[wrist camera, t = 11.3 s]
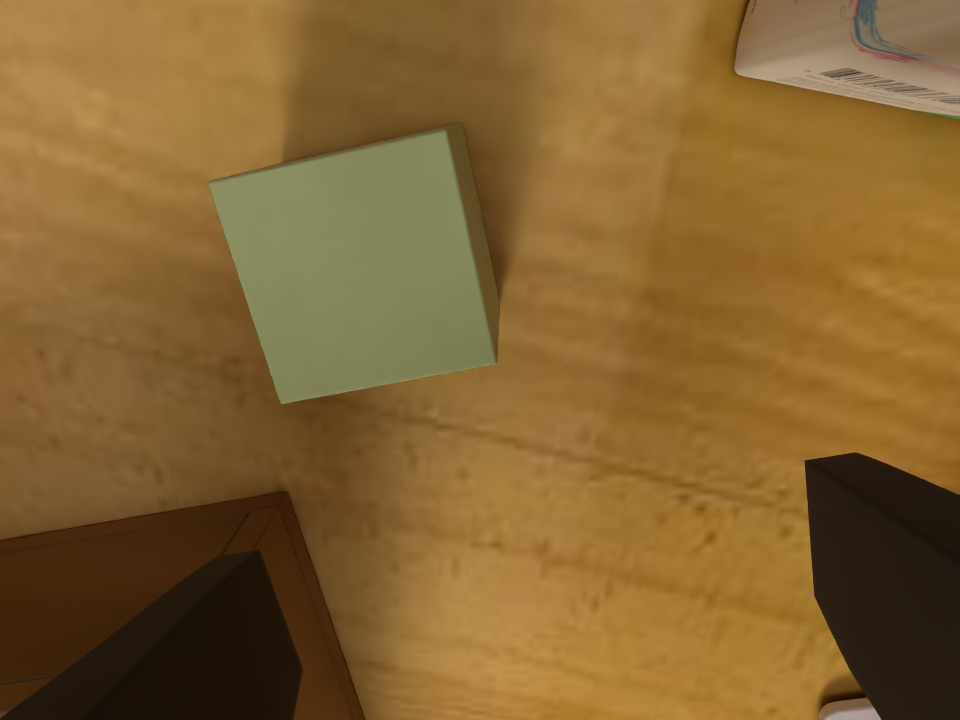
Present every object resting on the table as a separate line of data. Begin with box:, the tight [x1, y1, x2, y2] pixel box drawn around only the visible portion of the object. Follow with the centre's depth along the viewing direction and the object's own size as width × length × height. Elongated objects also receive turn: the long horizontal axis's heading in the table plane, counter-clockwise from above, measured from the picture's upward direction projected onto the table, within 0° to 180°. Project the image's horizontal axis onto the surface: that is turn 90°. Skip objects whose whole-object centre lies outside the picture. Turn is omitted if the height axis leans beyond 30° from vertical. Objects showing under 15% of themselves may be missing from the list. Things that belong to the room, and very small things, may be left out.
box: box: [208, 123, 500, 404], centre depth 15 cm, size 4×4×4 cm
